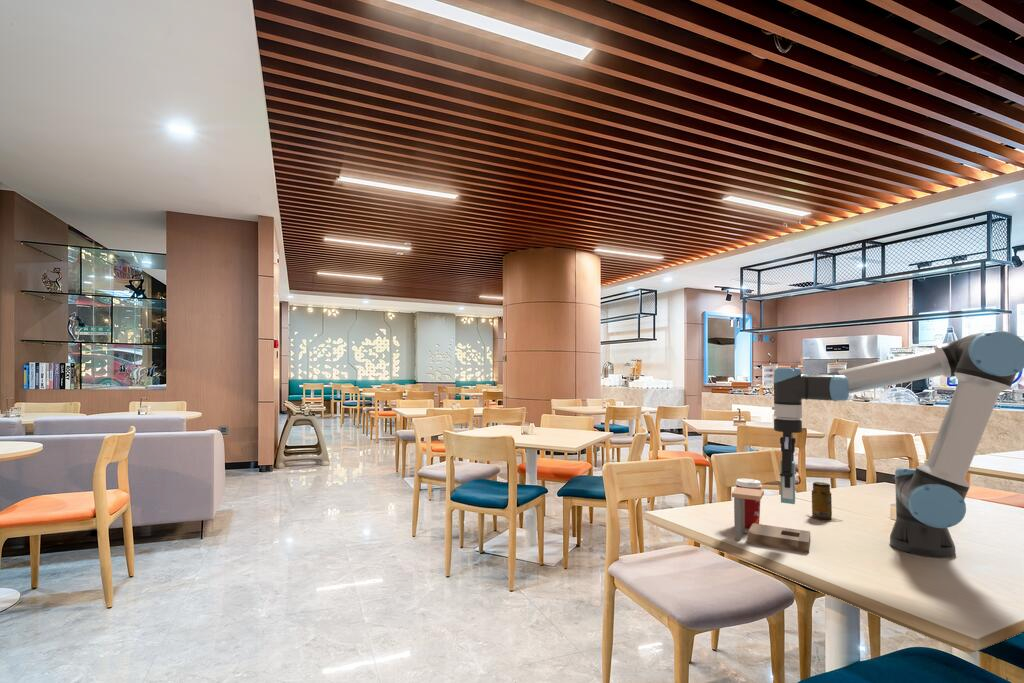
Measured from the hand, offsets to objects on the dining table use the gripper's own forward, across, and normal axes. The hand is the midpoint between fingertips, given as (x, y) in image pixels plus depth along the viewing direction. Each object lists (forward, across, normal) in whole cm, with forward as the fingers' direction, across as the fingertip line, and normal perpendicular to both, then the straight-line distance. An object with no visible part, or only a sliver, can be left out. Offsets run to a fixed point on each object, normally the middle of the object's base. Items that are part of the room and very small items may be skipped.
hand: (788, 496), depth 158 cm
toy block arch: (+14, 0, -11) cm, 18 cm away
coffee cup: (+14, -13, -12) cm, 23 cm away
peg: (+2, 0, 0) cm, 2 cm away
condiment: (+14, -38, +8) cm, 41 cm away
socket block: (+14, 0, -2) cm, 14 cm away
